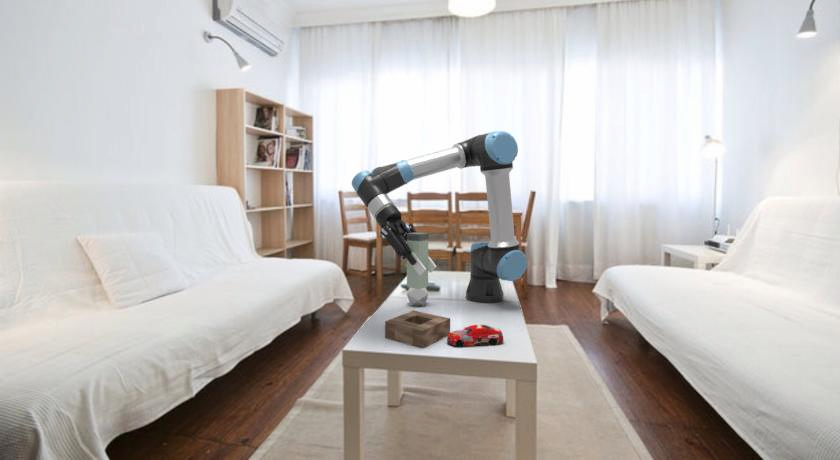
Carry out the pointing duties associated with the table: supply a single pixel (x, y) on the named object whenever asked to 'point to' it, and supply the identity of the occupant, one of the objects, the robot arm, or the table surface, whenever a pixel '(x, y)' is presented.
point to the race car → (475, 336)
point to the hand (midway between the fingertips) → (428, 270)
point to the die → (417, 296)
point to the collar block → (417, 328)
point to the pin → (420, 248)
